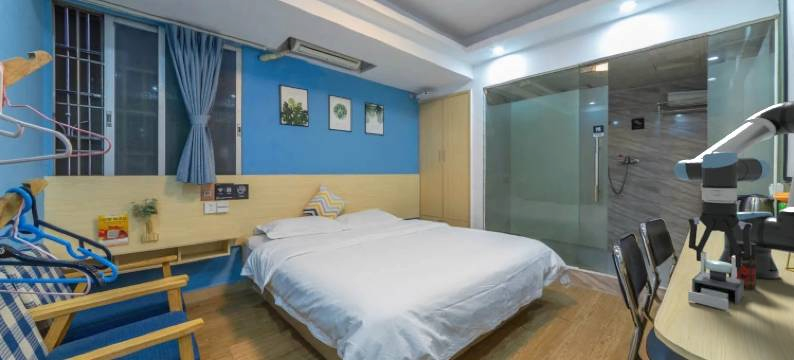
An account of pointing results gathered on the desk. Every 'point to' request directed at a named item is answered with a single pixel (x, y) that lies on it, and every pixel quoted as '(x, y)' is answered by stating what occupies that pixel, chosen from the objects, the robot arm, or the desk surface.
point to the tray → (710, 298)
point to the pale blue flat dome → (718, 266)
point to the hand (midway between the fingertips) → (718, 274)
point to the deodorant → (746, 267)
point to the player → (719, 283)
